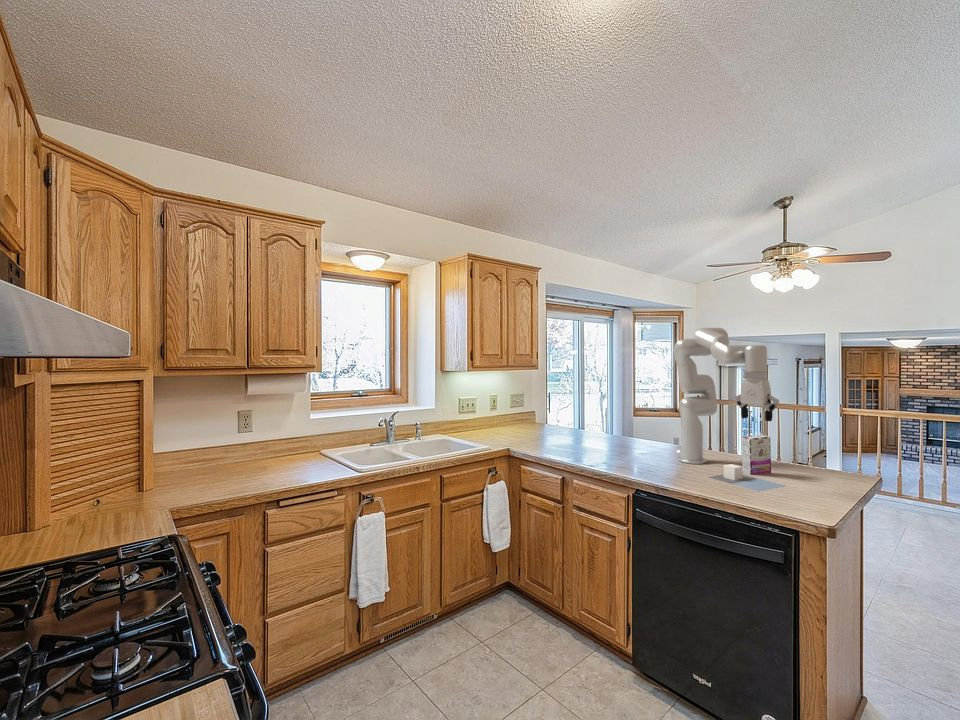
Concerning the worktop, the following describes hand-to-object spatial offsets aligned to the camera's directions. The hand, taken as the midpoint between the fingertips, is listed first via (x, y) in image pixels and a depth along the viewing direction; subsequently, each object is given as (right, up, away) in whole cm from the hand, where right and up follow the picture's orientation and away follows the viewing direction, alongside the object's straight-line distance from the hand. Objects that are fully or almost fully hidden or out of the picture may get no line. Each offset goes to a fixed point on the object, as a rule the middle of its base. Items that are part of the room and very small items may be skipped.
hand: (756, 419), depth 179 cm
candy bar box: (+11, -26, +18) cm, 34 cm away
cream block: (-4, -26, +10) cm, 28 cm away
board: (-2, -27, +5) cm, 27 cm away
